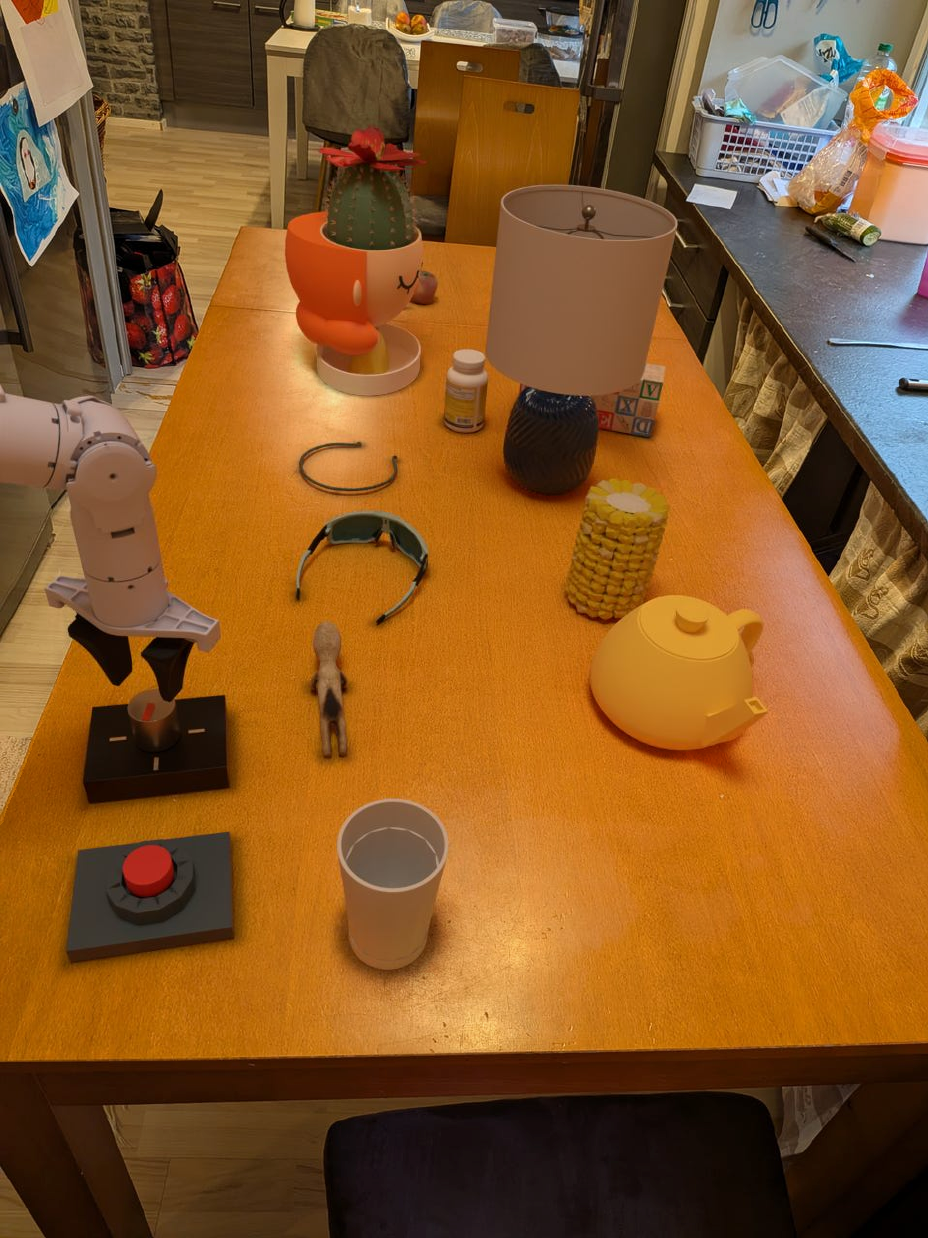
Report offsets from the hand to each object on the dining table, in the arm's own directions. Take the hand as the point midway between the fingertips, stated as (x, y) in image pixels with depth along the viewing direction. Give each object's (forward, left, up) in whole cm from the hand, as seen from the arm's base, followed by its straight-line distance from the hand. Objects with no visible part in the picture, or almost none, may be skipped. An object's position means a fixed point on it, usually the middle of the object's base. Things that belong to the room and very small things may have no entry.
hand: (147, 685), depth 77 cm
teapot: (+52, -1, -10) cm, 53 cm away
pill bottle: (+42, +61, -10) cm, 75 cm away
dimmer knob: (0, 0, -6) cm, 6 cm away
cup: (+18, -21, -10) cm, 29 cm away
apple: (+44, +109, -10) cm, 118 cm away
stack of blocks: (+62, +62, -10) cm, 88 cm away
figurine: (+16, +5, -10) cm, 19 cm away
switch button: (0, -15, -6) cm, 16 cm away
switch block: (0, -15, -9) cm, 18 cm away
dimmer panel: (0, 0, -9) cm, 9 cm away
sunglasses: (+22, +25, -10) cm, 35 cm away
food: (+50, +18, -10) cm, 54 cm away
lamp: (+50, +44, -10) cm, 67 cm away
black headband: (+23, +49, -9) cm, 55 cm away
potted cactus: (+28, +82, -10) cm, 87 cm away
